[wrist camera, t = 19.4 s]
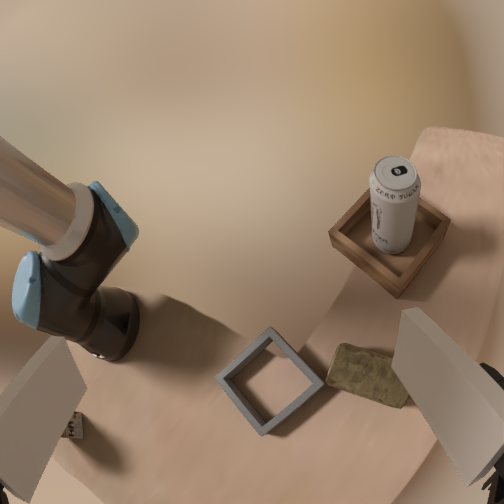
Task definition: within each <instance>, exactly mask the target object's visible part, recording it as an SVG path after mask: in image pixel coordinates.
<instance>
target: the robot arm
mask: <svg viewBox="0 0 504 504" xmlns="http://www.w3.org/2000/svg"><path fill="white" fill-rule="evenodd" d="M0 226H2V227H4V228H7V229H9V230H11V231H13V232H15V233H17V234H19V235H22V236H24V237H26V238H28V239H31V240H33V241H35V242H38V244H39V248H40V250H41V252H40V253H39V254H38V253H37V252H36V251H28V253H26V254H25V255H24V257H23V258H22V260H21V262H20V264H19V267H18V270H17V272H16V276H15V280H14V285H13V291H12V307H13V312H14V314H15V316H16V318H17V319H18V320H19V321H20V322H22V323H24V324H26V325H28V326H30V327H32V328H33V329H37V330H40V331H43V332H45V333H48V334H51V335H54V336H51V337H50V338H49V339H48V340H47V341H46V342H45V343H44V344H43V345H42V347H41V348H40V349H39V350H38V351H37V352H36V353H35V355H34V356H33V357H32V358H31V359H30V360H29V361H28V362H27V364H26V365H25V366H24V367H23V368H22V369H21V371H20V372H19V373H18V374H17V375H16V377H15V378H14V379H13V380H12V381H11V382H10V384H9V385H8V386H7V387H6V389H5V390H4V391H3V392H2V393H1V395H0V504H9V502H8V498H7V495H6V493H5V492H4V491H3V488H4V487H5V488H6V489H7V490H9V491H10V492H11V493H12V494H13V495H14V496H16V497H17V498H20V499H21V500H23V501H25V502H27V503H30V501H31V498H32V496H33V494H34V491H35V489H36V487H37V485H38V483H39V480H40V478H41V476H42V474H43V472H44V470H45V468H46V465H47V463H48V461H49V459H50V457H51V455H52V453H53V451H54V449H55V447H56V445H57V443H58V441H59V439H60V437H61V435H62V434H63V432H64V430H65V428H66V426H67V424H68V422H69V420H70V419H71V417H72V415H73V413H74V411H75V409H76V408H77V406H78V404H79V402H80V400H81V399H82V397H83V395H84V393H85V392H86V390H87V386H86V384H85V382H84V380H83V378H82V376H81V374H80V372H79V370H78V368H77V365H76V363H75V361H74V359H73V356H72V354H71V352H70V349H69V347H68V345H67V342H66V340H69V341H72V342H76V343H78V344H79V345H81V346H82V347H83V348H84V349H86V350H87V351H88V352H90V353H91V354H92V355H94V356H95V357H97V358H99V359H103V360H107V361H115V360H118V359H120V358H121V357H123V356H124V355H125V354H126V353H127V352H128V351H129V350H130V348H131V347H132V345H133V343H134V341H135V338H136V335H137V332H138V327H139V311H138V306H137V303H136V301H135V299H134V298H133V297H132V295H131V294H129V293H128V292H126V291H124V290H122V289H120V288H116V287H104V286H100V284H101V283H102V282H103V281H104V279H105V278H106V277H107V276H108V274H109V273H110V272H111V271H112V270H113V268H114V267H115V266H116V265H117V264H118V262H119V261H120V260H121V259H122V257H123V256H124V255H125V254H126V253H127V252H128V251H129V249H130V247H131V245H132V244H133V243H134V241H135V240H136V239H137V237H138V235H139V229H138V226H137V225H136V224H135V222H134V221H133V220H132V219H131V218H130V217H129V216H128V215H127V213H126V212H125V211H124V210H123V209H122V208H121V207H120V206H119V205H118V203H116V201H115V200H114V199H113V198H112V197H111V195H109V193H108V192H107V191H106V190H105V189H104V188H103V186H102V185H101V184H100V183H99V182H98V181H94V182H92V183H91V184H89V185H88V187H87V186H85V185H83V184H81V183H70V184H67V185H65V184H63V183H62V182H61V181H59V180H58V179H56V178H55V177H54V176H52V175H51V174H50V173H48V172H47V171H45V170H44V169H43V168H41V167H40V166H39V165H37V164H36V163H35V162H33V161H32V160H30V159H29V158H28V157H27V156H25V155H24V154H23V153H21V152H20V151H19V150H17V149H16V148H14V147H13V146H12V145H11V144H10V143H8V142H7V141H6V140H5V139H3V138H2V137H1V136H0ZM65 339H66V340H65ZM391 367H392V369H393V370H394V372H395V373H396V375H397V376H398V378H399V379H400V381H401V382H402V384H403V385H404V387H405V388H406V390H407V391H408V393H409V394H410V396H411V397H412V399H413V401H414V402H415V404H416V405H417V407H418V408H419V410H420V411H421V413H422V414H423V416H424V418H425V419H426V421H427V422H428V424H429V426H430V427H431V429H432V430H433V432H434V434H435V435H436V437H437V438H438V440H439V441H440V443H441V445H442V447H443V448H444V450H445V451H446V453H447V455H448V457H449V458H450V460H451V462H452V463H453V465H454V467H455V468H456V470H457V472H458V474H459V475H460V477H461V479H462V481H463V482H464V484H465V486H466V487H468V486H470V485H471V484H473V483H474V482H476V481H478V480H479V479H481V478H482V477H484V476H485V475H486V474H487V473H488V471H489V470H490V469H491V468H492V467H493V466H494V467H495V469H496V471H495V472H494V474H493V475H492V476H491V477H490V478H489V479H488V480H487V481H486V482H485V483H484V485H483V487H482V490H484V489H485V488H486V487H487V486H488V485H489V484H490V483H491V482H492V484H491V486H490V487H489V489H488V490H490V493H489V498H488V503H487V504H504V377H503V376H502V375H500V374H499V372H498V371H497V370H495V369H494V368H492V367H490V366H489V365H487V364H485V363H481V364H478V363H477V362H476V361H475V360H474V359H473V358H472V357H471V356H470V355H469V354H468V353H467V352H466V351H465V350H464V349H463V348H462V347H461V346H460V345H459V344H458V343H457V342H455V341H454V340H453V339H452V338H451V337H450V336H449V335H448V334H447V333H446V332H445V331H444V330H443V329H442V328H441V327H440V326H439V325H437V324H436V323H435V322H434V321H433V320H432V319H431V318H430V317H429V316H428V315H426V314H425V313H424V312H423V311H422V310H421V309H420V308H419V307H414V308H409V309H404V310H402V311H401V318H400V324H399V330H398V335H397V341H396V346H395V351H394V356H393V360H392V365H391Z"/></svg>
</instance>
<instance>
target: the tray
mask: <svg viewBox="0 0 504 504" xmlns="http://www.w3.org/2000/svg"><path fill="white" fill-rule="evenodd" d="M272 341H274V342H275V343H276V344H277V345H278V346H279V347H280V349H282V351H283V352H284V353H285V354H286V355H287V356H288V357H289V358H290V359H291V360H292V362H293V363H294V364H295V365H296V366H297V367H298V368H299V369H300V370H301V371H302V372H303V373H304V374H305V375H306V376H307V378H308V379H309V380H310V381H311V382H312V383H313V384H312V385H311V386H310V387H309V388H308V389H307V390H306V391H305V392H303V393H302V394H301V395H300V396H299V397H298V398H297V399H295V400H294V401H293V402H292V403H291V404H290V405H288V406H287V407H286V408H285V409H284V410H282V411H281V412H280V413H279V414H278V415H276V416H275V417H274V418H273V419H271V420H270V421H269V422H268V423H266V422H265V421H264V420H263V419H262V417H261V416H260V415H259V414H258V413H257V411H256V410H255V409H254V408H253V407H252V405H251V404H250V403H249V402H248V401H247V399H246V398H245V397H244V396H243V394H242V393H241V392H240V391H239V389H238V388H237V387H236V386H235V384H234V383H233V382H232V380H231V378H233V377H234V376H235V375H236V374H237V373H238V372H239V371H241V370H242V369H243V368H244V367H245V366H246V365H247V364H248V363H250V362H251V361H252V360H253V359H254V358H255V357H256V356H257V355H258V354H259V353H261V352H262V351H263V350H264V349H265V348H266V347H267V346H268V345H269V344H270V343H271V342H272ZM214 378H215V379H216V380H217V382H218V383H219V385H220V386H221V387H222V389H223V390H224V391H225V392H226V394H227V395H228V396H229V398H230V399H231V400H232V402H233V403H234V404H235V405H236V407H237V408H238V409H239V410H240V412H241V413H242V414H243V415H244V417H245V418H246V419H247V420H248V422H249V423H250V424H251V425H252V426H253V428H254V429H255V430H256V431H257V432H258V434H259V435H260V436H264V435H266V434H268V433H269V432H270V431H272V430H273V429H274V428H276V427H277V426H278V425H279V424H281V423H282V422H283V421H284V420H286V419H287V418H288V417H289V416H291V415H292V414H293V413H294V412H295V411H297V410H298V409H299V408H300V407H301V406H302V405H304V404H305V403H306V402H307V401H308V400H309V399H310V398H312V397H313V396H314V395H315V394H316V393H317V392H318V391H319V390H321V389H322V388H323V387H324V386H325V385H326V383H325V381H324V380H323V379H322V378H321V377H320V376H319V375H318V374H317V373H316V372H315V371H314V370H313V369H312V368H311V367H310V366H309V365H308V364H307V363H306V362H305V361H304V360H303V359H302V358H301V357H300V356H299V354H298V353H297V352H296V351H295V350H294V349H293V348H292V347H291V346H290V345H289V344H288V343H287V342H286V341H285V340H284V339H283V338H282V336H281V335H280V334H279V333H278V332H277V331H276V330H275V329H273V328H272V327H269V328H268V329H267V330H266V331H265V332H263V333H262V334H261V335H260V336H259V337H258V338H257V339H256V340H255V341H254V342H253V343H252V344H251V345H250V346H249V347H247V348H246V349H245V350H244V351H243V352H242V353H241V354H240V355H239V356H238V357H236V358H235V359H234V360H233V361H232V362H231V363H230V364H229V365H228V366H226V367H225V368H224V369H223V370H222V371H221V372H220V373H219V374H217V375H216V376H215V377H214Z"/></svg>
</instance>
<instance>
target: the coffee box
mask: <svg viewBox="0 0 504 504" xmlns="http://www.w3.org/2000/svg"><path fill="white" fill-rule="evenodd" d="M61 437H63V438H83V426H82V413H81V412H75V411H74V413H73V415H72V417H71V419H70V420H69V422H68V424H67V426H66V428H65V430H64V432H63V434H62V435H61Z"/></svg>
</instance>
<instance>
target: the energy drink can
mask: <svg viewBox="0 0 504 504" xmlns="http://www.w3.org/2000/svg"><path fill="white" fill-rule="evenodd" d="M369 184H370V198H371V217H372V238H373V242H374V244H375V245H376V247H377V248H378V249H380V250H381V251H383V252H385V253H388V254H397V253H400V252H402V251H404V250H405V249H406V248H407V247H408V246H409V244H410V242H411V238H412V233H413V228H414V223H415V218H416V213H417V207H418V201H419V195H420V189H421V182H420V178H419V176H418V174H417V171H416V168H415V166H414V165H413V164H412V162H410V161H409V160H408V159H406V158H404V157H401V156H396V155H391V156H386V157H383V158H381V159H380V160H379V161H378V162H377V163H376V164H375V167H374V170H373V171H372V173H371V175H370V178H369Z"/></svg>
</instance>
